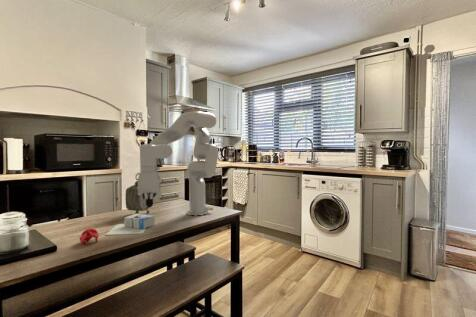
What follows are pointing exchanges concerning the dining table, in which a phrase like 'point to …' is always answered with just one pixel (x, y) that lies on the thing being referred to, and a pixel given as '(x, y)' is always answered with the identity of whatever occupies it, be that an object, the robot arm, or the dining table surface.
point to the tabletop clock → (135, 199)
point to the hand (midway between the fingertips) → (149, 206)
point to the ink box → (139, 221)
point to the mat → (124, 230)
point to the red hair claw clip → (88, 235)
